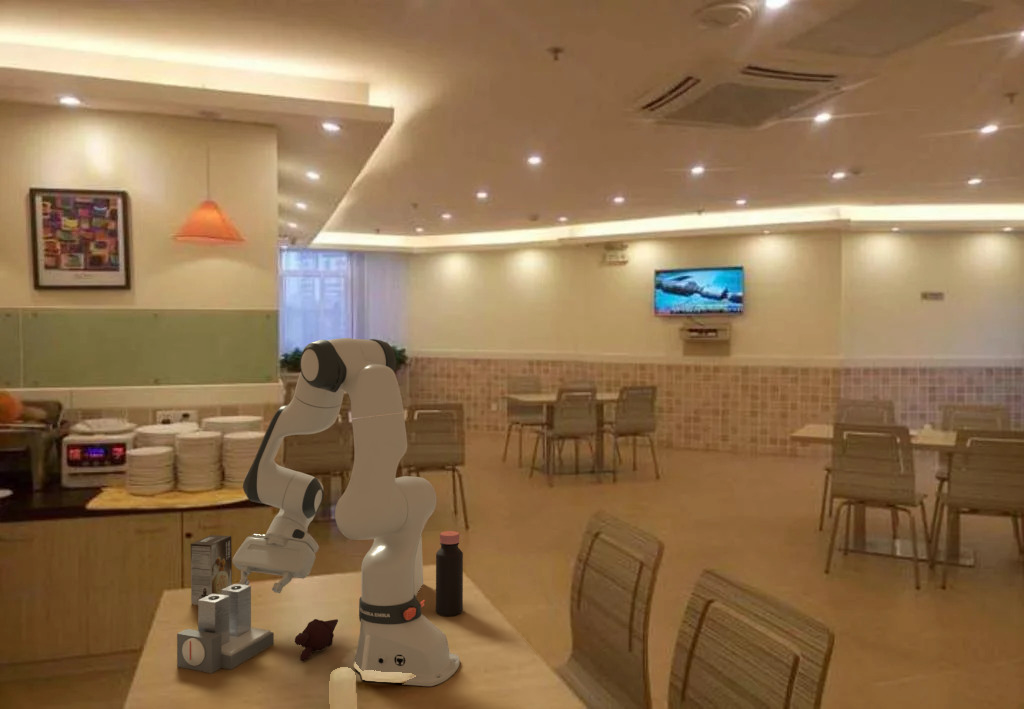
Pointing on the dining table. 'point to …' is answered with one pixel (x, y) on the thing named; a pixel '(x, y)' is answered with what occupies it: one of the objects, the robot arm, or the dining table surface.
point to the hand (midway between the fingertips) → (258, 589)
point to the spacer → (239, 608)
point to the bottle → (449, 575)
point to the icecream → (316, 637)
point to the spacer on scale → (214, 615)
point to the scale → (219, 649)
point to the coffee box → (210, 566)
